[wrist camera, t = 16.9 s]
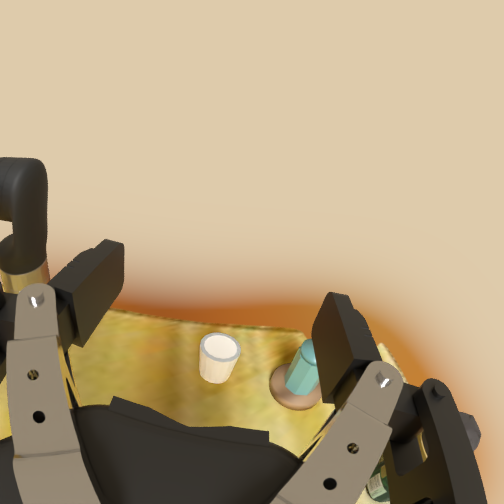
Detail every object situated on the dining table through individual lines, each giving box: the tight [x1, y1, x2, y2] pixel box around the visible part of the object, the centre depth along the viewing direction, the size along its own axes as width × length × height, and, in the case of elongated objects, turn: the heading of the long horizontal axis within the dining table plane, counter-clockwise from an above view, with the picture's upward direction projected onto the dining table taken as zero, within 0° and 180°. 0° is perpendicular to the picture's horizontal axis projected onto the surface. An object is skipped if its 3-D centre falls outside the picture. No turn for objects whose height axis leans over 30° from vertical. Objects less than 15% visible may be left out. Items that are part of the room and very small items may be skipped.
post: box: [269, 363, 322, 410], centre depth 46 cm, size 10×10×8 cm
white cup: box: [199, 333, 241, 384], centre depth 46 cm, size 7×7×7 cm
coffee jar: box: [367, 412, 481, 502], centre depth 26 cm, size 10×8×19 cm
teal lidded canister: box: [284, 339, 319, 396], centre depth 45 cm, size 6×6×9 cm
